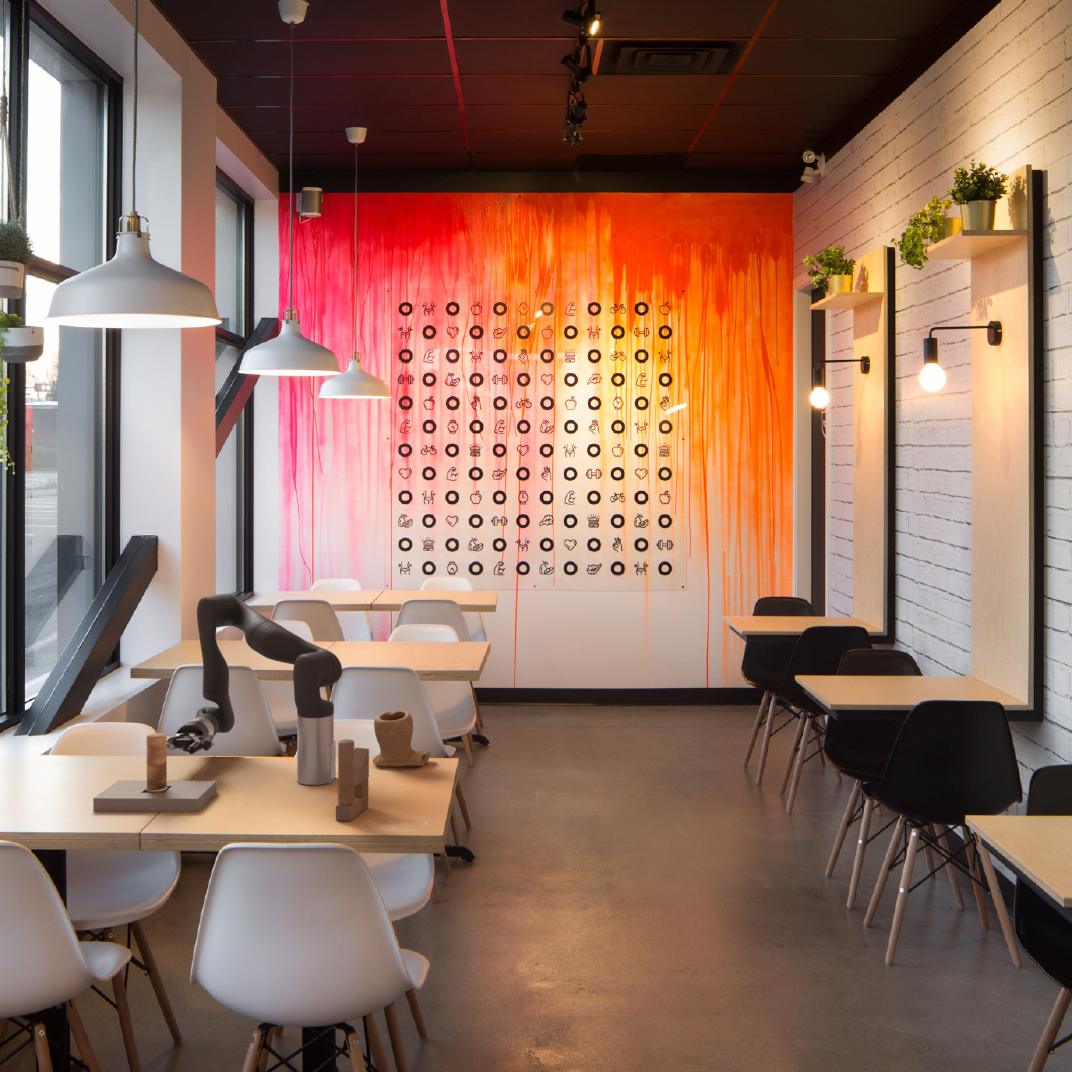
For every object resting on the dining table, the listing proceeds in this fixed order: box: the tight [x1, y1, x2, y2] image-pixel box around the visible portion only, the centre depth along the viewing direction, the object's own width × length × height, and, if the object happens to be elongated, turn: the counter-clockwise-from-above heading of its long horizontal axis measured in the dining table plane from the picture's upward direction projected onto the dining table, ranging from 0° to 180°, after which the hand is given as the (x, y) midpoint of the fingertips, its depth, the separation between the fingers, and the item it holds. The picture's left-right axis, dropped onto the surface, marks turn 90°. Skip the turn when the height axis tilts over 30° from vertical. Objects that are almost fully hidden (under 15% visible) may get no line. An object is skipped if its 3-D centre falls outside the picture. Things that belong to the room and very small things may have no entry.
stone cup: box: [372, 709, 432, 767], centre depth 264 cm, size 15×12×15 cm
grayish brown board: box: [92, 779, 218, 813], centre depth 231 cm, size 24×14×3 cm, turn 91°
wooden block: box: [335, 738, 370, 823], centre depth 223 cm, size 4×11×18 cm, turn 167°
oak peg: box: [146, 732, 168, 793], centre depth 231 cm, size 5×5×16 cm
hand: (173, 750), depth 242 cm, fingers open, 8 cm apart
